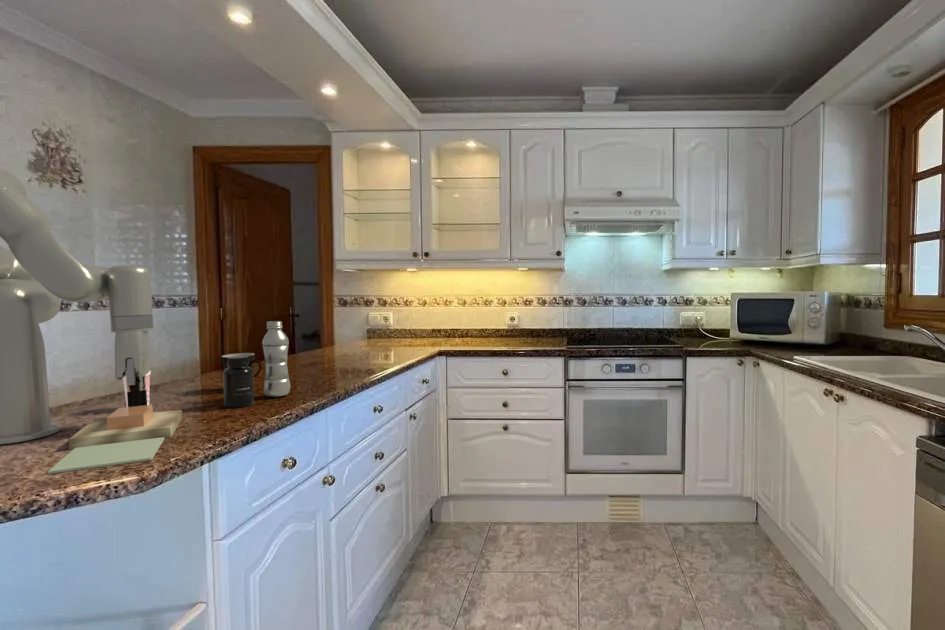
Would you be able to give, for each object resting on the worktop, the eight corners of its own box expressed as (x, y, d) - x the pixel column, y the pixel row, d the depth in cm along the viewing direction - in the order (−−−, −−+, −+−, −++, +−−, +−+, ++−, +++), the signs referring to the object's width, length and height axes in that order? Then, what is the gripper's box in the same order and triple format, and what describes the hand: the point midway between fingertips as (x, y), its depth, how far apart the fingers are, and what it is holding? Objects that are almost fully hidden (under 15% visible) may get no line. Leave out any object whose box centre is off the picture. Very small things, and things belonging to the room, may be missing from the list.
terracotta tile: (107, 430, 96) (106, 418, 96) (119, 419, 104) (118, 407, 104) (143, 426, 99) (143, 414, 98) (153, 415, 107) (152, 404, 107)
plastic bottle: (265, 395, 135) (261, 321, 134) (291, 392, 137) (288, 320, 136) (262, 400, 129) (259, 323, 128) (290, 397, 131) (287, 321, 130)
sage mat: (47, 474, 79) (47, 471, 79) (75, 450, 91) (75, 447, 91) (151, 460, 84) (151, 457, 84) (164, 439, 96) (164, 437, 96)
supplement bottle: (242, 408, 120) (240, 359, 119) (218, 408, 121) (215, 359, 120) (260, 402, 126) (258, 355, 126) (236, 401, 128) (234, 355, 127)
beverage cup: (158, 404, 126) (154, 349, 125) (143, 410, 120) (139, 353, 119) (133, 405, 126) (129, 350, 125) (117, 411, 120) (113, 353, 119)
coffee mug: (219, 390, 143) (217, 355, 143) (249, 385, 149) (248, 352, 149) (233, 395, 135) (231, 359, 134) (265, 390, 141) (263, 355, 140)
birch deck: (69, 450, 91) (68, 439, 91) (95, 427, 106) (94, 418, 105) (170, 437, 97) (170, 427, 97) (182, 418, 112) (181, 409, 112)
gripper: (119, 323, 111) (125, 404, 112) (101, 327, 98) (107, 419, 99) (158, 321, 114) (163, 400, 115) (146, 325, 101) (152, 414, 102)
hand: (138, 409), depth 107 cm, fingers closed
